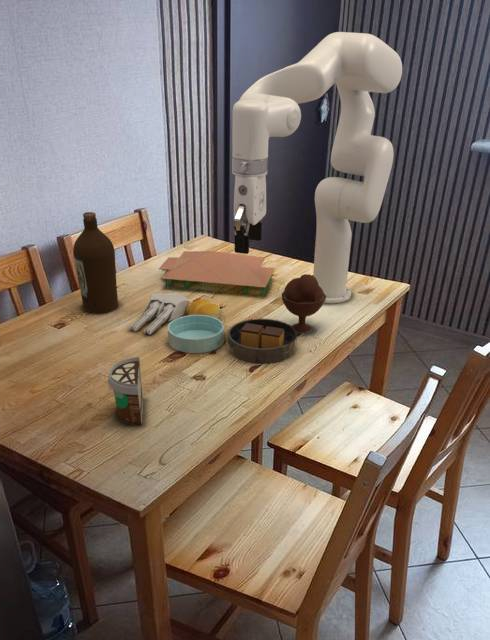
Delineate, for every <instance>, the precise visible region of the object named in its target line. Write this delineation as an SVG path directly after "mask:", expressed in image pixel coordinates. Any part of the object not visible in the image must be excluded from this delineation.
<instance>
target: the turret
mask: <svg viewBox="0 0 490 640" xmlns="http://www.w3.org/2000/svg"><path fill="white" fill-rule="evenodd" d="M146 304H147V305H145V308H144V310H143V312H142V315H141V316H140V317H139V318H137V320H136V321H134V322H133V324H131V325H130V327H129V328H128V329H129V331H132V332H133V331H134V332H138V331H139V330H140V329H141V328H142V327H144V325H145V324H146V323H147V322H149V321H152V320H153V321H152V322H151V323H150V324H149V325H148V326H147V327H146V328H145V329H144V331H143V335H144V334H146V335H149V336H151V335H153V334H154V332H155V331H156V330H157V329H158V328H160V327H161V325H163V324H166V323H167V322H171V321H173V320H175V319H176V318H179V317H183V316H184V314H185V312H187V309H188V307H189V305H190V304H191V300H190V299H188V298H187V297H186V296H185V295H183V294H181V292H165V293H152V294H151V295H150V298H149V300H148V302H147V303H146Z"/></svg>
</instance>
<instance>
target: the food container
mask: <svg viewBox="0 0 490 640" xmlns="http://www.w3.org/2000/svg"><path fill="white" fill-rule="evenodd" d="M141 373H142V372H141V360H140V356H133V357H129V358H125V359H122V360H120V361H118V362H116V363H115V364H113V365H112V366H111V368H110V370H109V373H108V380H107V382H108V386H109V387H110V388H111V389H112V392H113V397H114V401H115V406H116V410H117V411H116V412H117V416H118V418H119V419H120V420H121V421H122V422H124V423H126V424H129V425H133V426H135V425H136V426H142V422H143V408H144V398H143V396H144V395H143V387H142V384H143V383H142V374H141Z"/></svg>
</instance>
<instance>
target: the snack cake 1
mask: <svg viewBox="0 0 490 640" xmlns="http://www.w3.org/2000/svg"><path fill="white" fill-rule="evenodd" d="M263 327H264V326H263V325H256V324H250V323H246V324H245V325H244V327H243V328H242V329H241V345H244V346H247V347H252V348H260V347H261V344H262V332H263Z"/></svg>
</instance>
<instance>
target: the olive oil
mask: <svg viewBox="0 0 490 640" xmlns="http://www.w3.org/2000/svg"><path fill="white" fill-rule="evenodd" d="M96 214H97V213H96V212H94V211H86V212H84V213H82V217H83V219H82V221H83V227H84V228H83V230H82V232H81V233H80V234H79V236H78V237H77V238H76V239H75V241H74V244H73V248H72V250H73V251H72V255H73V259H74V264H75V271H76V275H77V280H78V285H79V291H80V295H81V301H82V307H83V309H84V310H85V311H86V312H88V313H93V314H105V313H110V312H112V311H114V310H116V309H117V308H118V306H119V300H118V298H119V297H118V285H117V269H116V268H117V267H116V251H115V247H114V244H113V242H112V240H111V238H109V236H107V235H106V234H105V233H104V232H103V231H101V230H100V228H99V227H98V218H96V217H97V215H96Z"/></svg>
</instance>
